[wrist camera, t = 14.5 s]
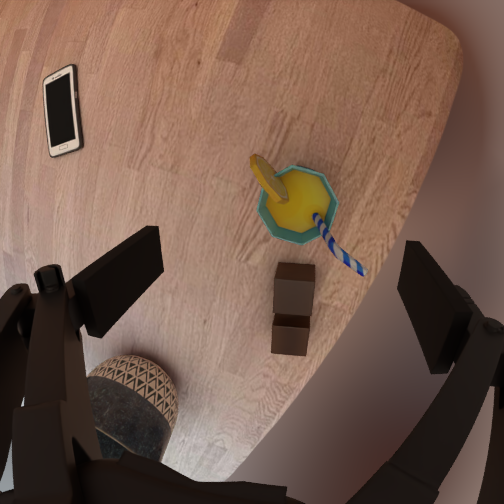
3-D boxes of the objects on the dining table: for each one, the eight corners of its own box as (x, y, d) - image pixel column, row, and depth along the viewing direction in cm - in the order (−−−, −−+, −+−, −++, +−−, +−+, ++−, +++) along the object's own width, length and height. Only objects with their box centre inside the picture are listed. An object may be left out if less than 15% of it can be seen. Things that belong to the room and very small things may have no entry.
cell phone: (53, 158, 42) (49, 159, 41) (45, 78, 37) (42, 78, 36) (84, 148, 41) (80, 148, 40) (76, 62, 35) (72, 61, 34)
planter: (116, 316, 52) (47, 393, 33) (209, 369, 53) (167, 466, 33) (103, 372, 60) (54, 438, 41) (178, 415, 61) (143, 491, 41)
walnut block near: (315, 264, 41) (315, 281, 37) (311, 296, 43) (311, 316, 39) (278, 262, 42) (274, 278, 38) (277, 293, 44) (272, 313, 40)
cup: (367, 202, 37) (398, 245, 23) (328, 246, 40) (336, 308, 26) (280, 132, 36) (262, 132, 22) (243, 180, 39) (206, 210, 25)
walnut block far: (310, 308, 44) (309, 328, 39) (307, 335, 46) (306, 356, 41) (276, 305, 45) (272, 325, 40) (275, 332, 47) (270, 353, 42)
